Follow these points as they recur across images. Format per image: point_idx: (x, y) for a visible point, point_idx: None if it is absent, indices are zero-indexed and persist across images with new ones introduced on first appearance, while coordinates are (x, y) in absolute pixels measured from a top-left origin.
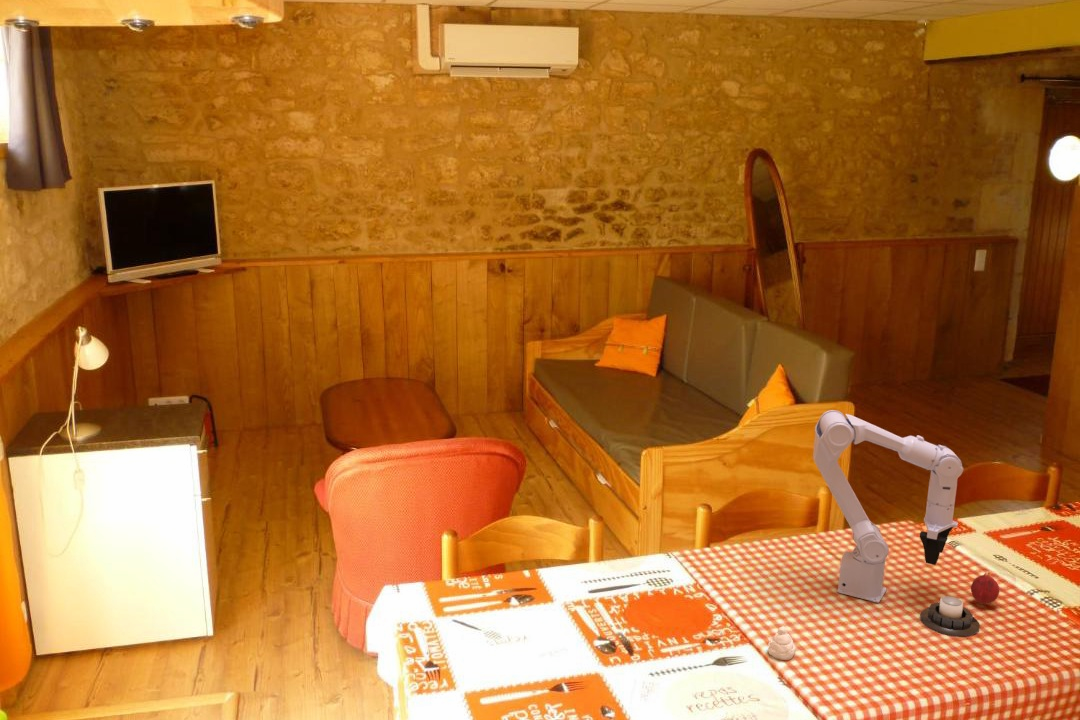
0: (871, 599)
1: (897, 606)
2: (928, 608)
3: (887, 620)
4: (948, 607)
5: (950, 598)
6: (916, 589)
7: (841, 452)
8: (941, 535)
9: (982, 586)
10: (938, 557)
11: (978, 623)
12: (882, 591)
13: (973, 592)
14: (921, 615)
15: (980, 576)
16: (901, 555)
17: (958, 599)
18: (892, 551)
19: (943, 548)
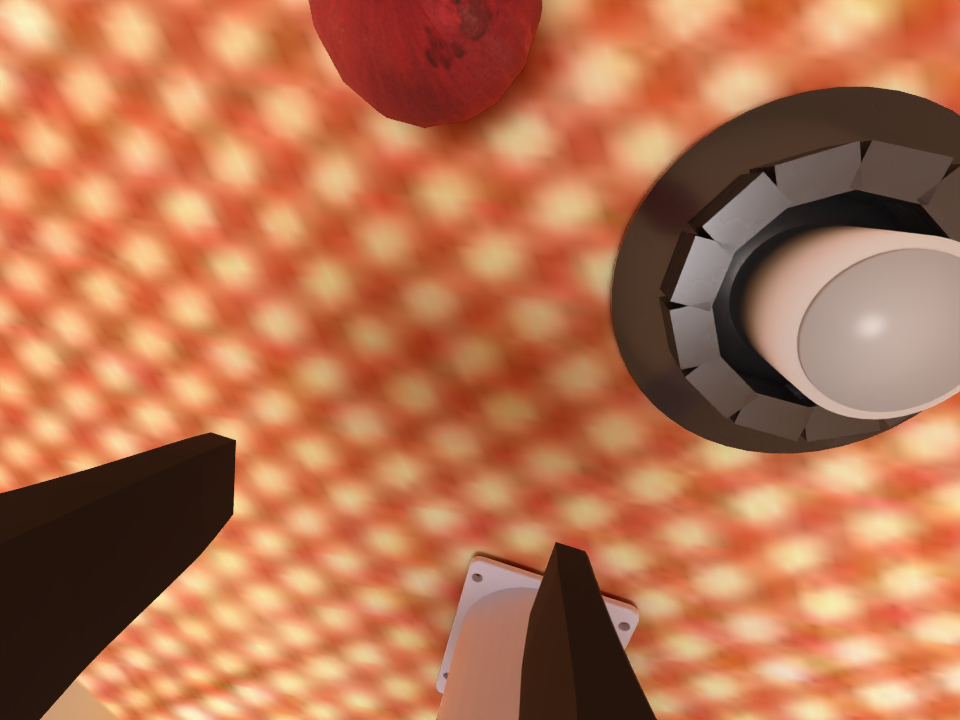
0: (628, 640)
1: (642, 530)
2: (659, 399)
3: (823, 595)
4: None
5: (847, 341)
6: (408, 419)
7: None
8: (20, 613)
9: (501, 13)
10: (571, 603)
11: (823, 93)
12: (520, 583)
13: (484, 109)
14: (765, 446)
15: (379, 19)
16: (80, 440)
17: (860, 274)
18: (65, 471)
19: (194, 456)
